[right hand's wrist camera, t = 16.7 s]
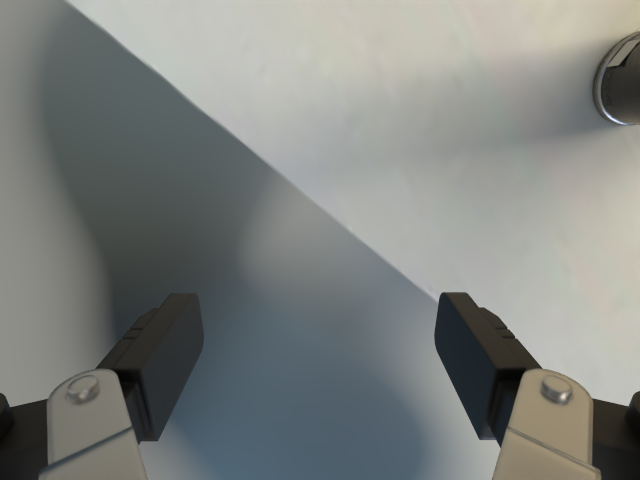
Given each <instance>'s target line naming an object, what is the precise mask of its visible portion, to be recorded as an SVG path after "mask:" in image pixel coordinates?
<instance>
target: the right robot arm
mask: <svg viewBox="0 0 640 480" xmlns="http://www.w3.org/2000/svg"><path fill="white" fill-rule="evenodd" d="M593 96H594V102H595V105H596V108H597V110H598V111H599V113H600V114H601V115H602V116H603V117H604V118H605V119H606V120H608V121H610V122H612V123H615V124H621V125H638V124H639V125H640V32H637V33H634V34H632V35H630V36H628V37H627V38H625V39H623V40H622V41H621V42H619V43H618V44H617V45H616V46H615V47H614V48H613V49H612V50H611V51H610V52H609V53H608V55H607V56H606V57H605V59H604V60H603V62H602V63H601V65H600V67H599V69H598V72H597V74H596V77H595V81H594V87H593ZM203 341H204V332H203V325H202V318H201V311H200V304H199V298H198V296H197V294H196V293H171V294H170V295H169V296H168V298H167V299H166V300H165V301H164V303H163V304H162V305H161V306H160V308H154V309H152V310H150V311H149V312H147V313H146V314H144V315H143V316H141V317H140V318H139V319H138V320H137V321H136V322H135V323H134V325H133V326H132V327H131V328H130V330H128V331H127V333H126V334H125V335H124V336H123V338H122V340H120V341H119V342H118V343H117V344H116V345H115V346H114V348H113V349H112V350H111V351H110V352H109V353H108V355H107V356H106V357H105V358H104V359H103V360H102V362H101V363H100V364H99V365H98V366H97V367H96V369H93V370H89V371H85V372H82V373H79V374H77V375H75V376H73V377H71V378H69V379H67V380H66V381H64V382H63V383H61V384H60V385H59V386H58V387H57V388H55V389H54V391H53V392H52V393H51V394H50V396H49V398H48V399H45V400H41V401H36V402H32V403H28V404H23V405H19V406H15V407H10V406H9V404H8V402H7V399H6V397H5V396H4V395H3V394H2V393H0V480H148V477H147V474H146V470H145V467H144V463H143V460H142V457H141V453H140V450H139V444H140V442H141V441H158V440H159V438H160V436H161V434H162V431H163V429H164V427H165V425H166V423H167V421H168V419H169V417H170V415H171V413H172V411H173V409H174V407H175V405H176V403H177V401H178V399H179V397H180V395H181V392H182V390H183V388H184V386H185V384H186V382H187V380H188V378H189V376H190V374H191V372H192V370H193V368H194V366H195V364H196V362H197V360H198V357H199V356H200V353H201V351H202V348H203ZM435 346H436V350H437V352H438V354H439V356H440V359H441V361H442V363H443V365H444V367H445V369H446V371H447V373H448V375H449V377H450V379H451V381H452V384H453V386H454V388H455V390H456V392H457V394H458V396H459V398H460V400H461V402H462V404H463V406H464V408H465V411H466V413H467V415H468V417H469V419H470V421H471V423H472V425H473V427H474V429H475V431H476V433H477V435H478V438H479V439H480V440H497V442H498V444H499V446H500V448H501V450H500V453H499V456H498V460H497V463H496V467H495V470H494V474H493V477H492V480H640V391H639V392H636V393H635V394H634V395H633V397H632V399H631V402H630V404H629V407H628V406H624V405H619V404H615V403H610V402H606V401H602V400H597V399H593V398H591V396H590V394H589V393H588V392H587V391H586V389H585V388H583V387H582V386H581V385H580V384H579V383H577V382H576V381H574V380H573V379H571V378H569V377H567V376H565V375H563V374H561V373H558V372H555V371H552V370H547V369H542V367H541V366H540V365H539V364H538V363H537V362H536V360H535V359H534V358H533V357H532V356H531V354H530V353H529V352H528V351H527V350H526V349H525V347H524V346H523V345H522V344H521V343H520V342H519V340H518V339H515V336H514V335H513V333H512V332H511V331H510V330H508V329H507V326H506V325H505V324H504V323H503V322H502V321H501V319H500V318H499V317H498V316H496V315H495V314H493V313H492V312H490V311H489V310H487V309H485V308H479V307H478V306H477V305H476V303H475V302H474V301H473V300H472V298H471V297H470V296H469V295H468V294H467V293H465V292H443V293H442V294H441V295H440V299H439V305H438V312H437V320H436V326H435Z"/></svg>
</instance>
